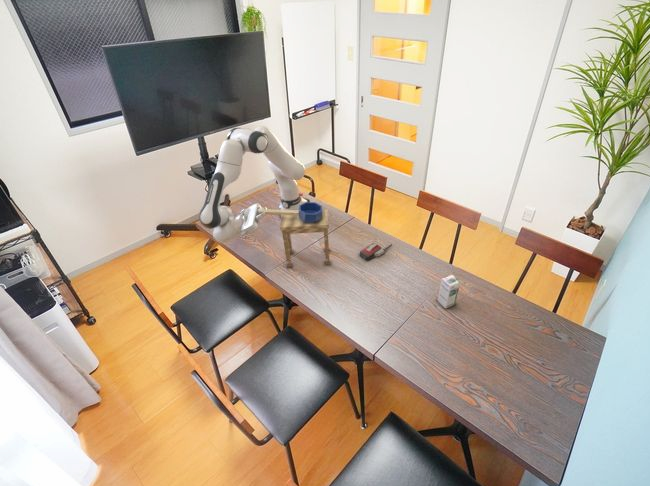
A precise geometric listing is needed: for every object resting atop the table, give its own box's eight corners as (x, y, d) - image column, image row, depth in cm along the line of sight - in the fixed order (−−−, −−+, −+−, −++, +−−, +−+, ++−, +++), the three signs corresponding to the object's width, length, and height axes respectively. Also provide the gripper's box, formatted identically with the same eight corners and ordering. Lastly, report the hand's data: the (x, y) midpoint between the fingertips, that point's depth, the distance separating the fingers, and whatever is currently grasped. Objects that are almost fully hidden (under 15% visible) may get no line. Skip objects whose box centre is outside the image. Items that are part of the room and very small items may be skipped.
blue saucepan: (321, 211, 167) (321, 202, 164) (321, 223, 158) (322, 214, 155) (260, 208, 162) (260, 200, 160) (257, 221, 154) (256, 212, 151)
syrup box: (445, 309, 149) (451, 286, 140) (436, 300, 153) (441, 277, 144) (454, 304, 151) (461, 282, 142) (446, 296, 155) (451, 273, 146)
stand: (286, 268, 171) (279, 227, 155) (288, 251, 182) (282, 211, 166) (330, 265, 172) (328, 224, 157) (329, 248, 184) (327, 209, 168)
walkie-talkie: (369, 263, 173) (393, 247, 184) (369, 257, 171) (393, 241, 182) (357, 256, 178) (381, 240, 190) (357, 250, 176) (382, 234, 187)
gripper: (234, 232, 150) (258, 218, 147) (242, 208, 166) (264, 195, 163) (243, 241, 154) (267, 227, 150) (250, 217, 170) (272, 204, 167)
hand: (265, 210), depth 157 cm, fingers closed on blue saucepan, 2 cm apart
